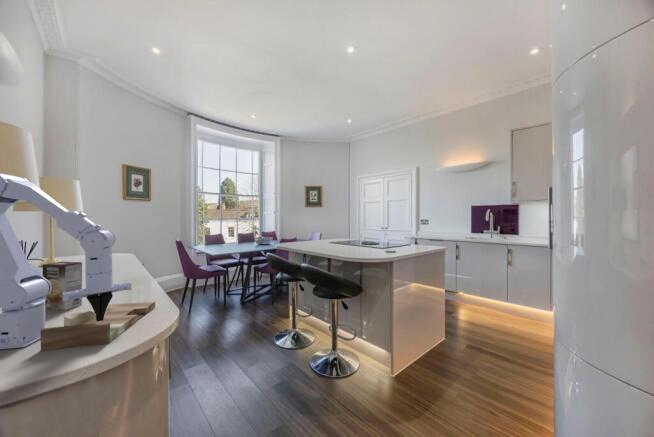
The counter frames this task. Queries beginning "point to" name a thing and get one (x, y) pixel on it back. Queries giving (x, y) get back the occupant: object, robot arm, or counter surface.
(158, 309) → the counter surface
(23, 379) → the counter surface
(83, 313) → the birch block
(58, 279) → the coffee box
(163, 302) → the counter surface
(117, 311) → the board
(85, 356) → the counter surface
